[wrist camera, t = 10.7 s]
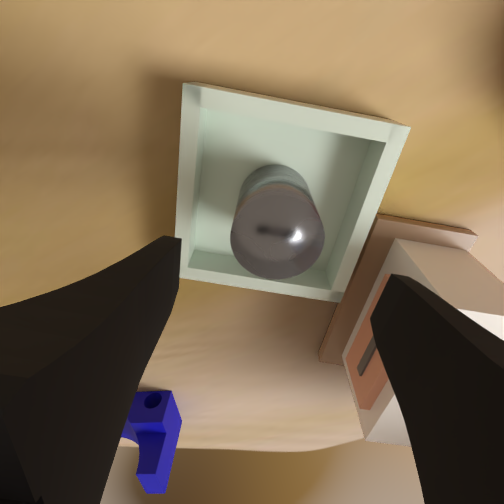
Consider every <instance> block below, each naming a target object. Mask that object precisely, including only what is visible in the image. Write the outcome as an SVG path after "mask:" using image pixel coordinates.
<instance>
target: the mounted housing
mask: <svg viewBox="0 0 504 504" xmlns="http://www.w3.org/2000/svg"><path fill="white" fill-rule="evenodd" d="M477 238H478V235H476V234H475V233H474V232H472V231H471V230H468V229H462V228H456V227H451V226H445V225H439V224H434V223H428V222H422V221H417V220H411V219H405V218H399V217H394V216H388V215H382V214H377V213H376V216H375V218H374V221H373V223H372V226H371V228H370V230H369V233H368V235H367V238H366V240H365V243H364V245H363V248H362V250H361V253H360V255H359V258H358V260H357V263H356V265H355V268H354V270H353V273H352V275H351V278H350V280H349V283H348V285H347V288H346V290H345V293H344V295H343V298H342V300H341V302H340V303H338V305H337V307H336V310H335V312H334V315H333V317H332V320H331V322H330V325H329V327H328V330H327V332H326V335H325V337H324V340H323V342H322V345H321V347H320V350H319V352H318V356H319V361H320V362H325V363H332V364H338V365H344V366H345V369H346V373H347V376H348V380H349V384H350V387H351V391H352V395H353V398H354V402H355V406H356V409H357V413H358V417H359V420H360V424H361V428H362V431H363V435H364V438H365V441H372V442H380V443H387V444H395V445H403V446H409V447H411V443H410V440H409V436H408V432H407V429H406V425H405V421H404V418H403V415H402V412H401V410H400V407H399V404H398V401H397V399H396V396H395V394H394V391H393V389H392V386H391V383H390V381H389V378H388V376H387V373H386V371H385V368H384V366H383V363H382V360H381V358H380V355H379V352H378V350H377V347H376V344H375V340H374V336H373V332H372V327H371V322H370V317H371V315H372V312H373V310H374V308H375V306H376V304H377V302H378V300H379V298H380V296H381V294H382V292H383V289H384V287H385V285H386V283H387V281H388V279H389V277H390V275H391V273H392V274H398V275H404V276H409V277H411V278H412V279H414V280H416V281H417V282H419V283H421V284H422V285H424V286H425V287H427V288H428V289H430V290H431V291H432V292H434V293H435V294H437V295H438V296H439V297H441V298H442V299H444V300H445V301H446V302H448V303H449V304H451V305H452V306H453V307H455V308H456V309H458V310H459V311H460V312H462V313H463V314H465V315H466V316H468V317H469V318H470V319H472V320H473V321H475V322H476V323H478V324H479V325H481V326H482V327H484V328H485V329H487V330H488V331H490V332H491V333H493V334H494V335H496V336H497V337H499V338H500V339H502V340H503V341H504V283H503V282H502V281H500V280H499V279H498V278H497V277H496V276H495V275H494V274H493V273H491V272H490V271H489V270H488V269H487V268H486V267H485V266H484V265H482V264H481V263H480V262H479V261H478V260H477V259H476V258H474V257H473V256H472V255H471V254H470V253H469V251H470V249H471V248H472V246H473V244H474V243H475V241H476V239H477Z"/></svg>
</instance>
